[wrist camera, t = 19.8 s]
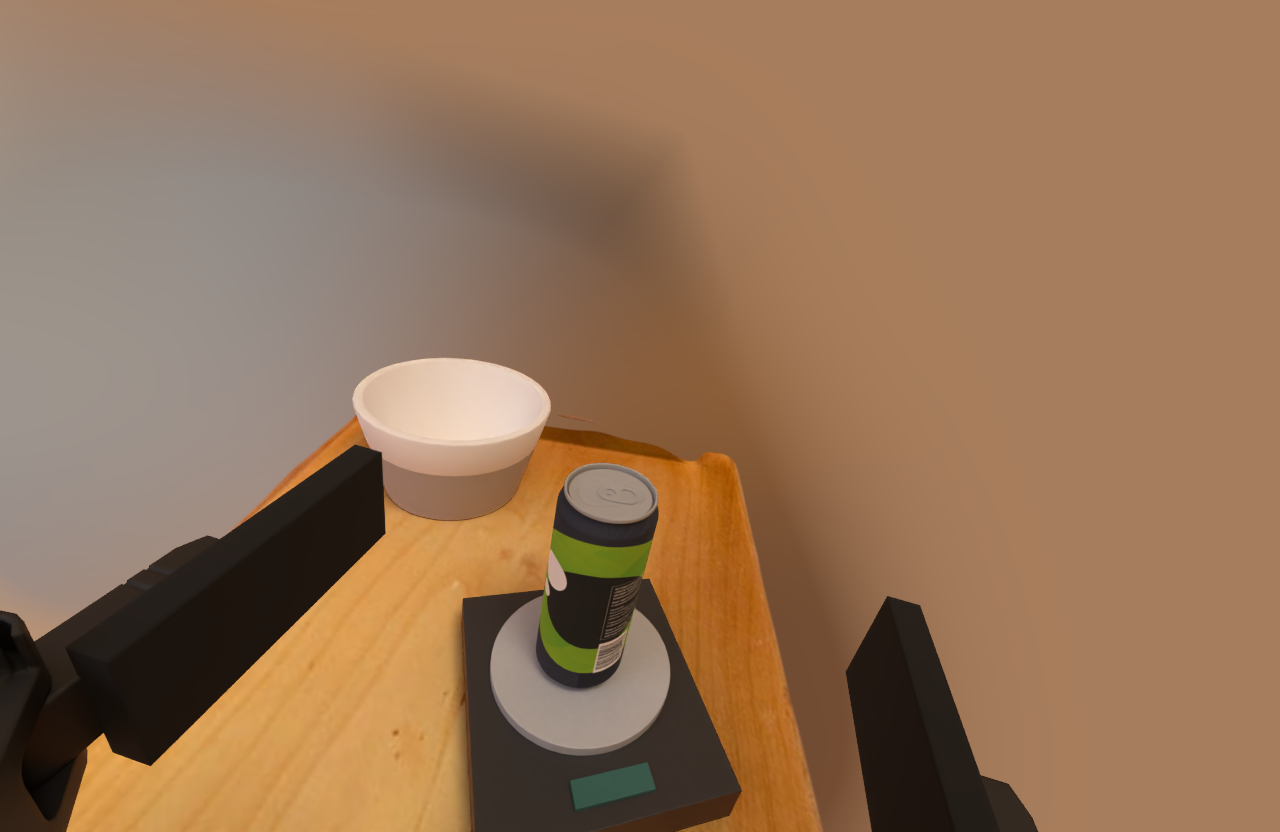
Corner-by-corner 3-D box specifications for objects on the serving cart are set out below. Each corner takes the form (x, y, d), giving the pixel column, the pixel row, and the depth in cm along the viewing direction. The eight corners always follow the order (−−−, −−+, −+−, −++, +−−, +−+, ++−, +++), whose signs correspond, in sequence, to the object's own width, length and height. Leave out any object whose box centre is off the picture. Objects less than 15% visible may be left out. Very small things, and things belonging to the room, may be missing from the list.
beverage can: (620, 625, 42) (659, 467, 35) (620, 699, 37) (666, 530, 30) (540, 616, 41) (564, 454, 34) (528, 691, 36) (554, 515, 29)
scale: (643, 602, 50) (651, 571, 48) (729, 815, 35) (745, 783, 33) (461, 624, 44) (463, 590, 42) (473, 891, 29) (477, 857, 27)
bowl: (507, 557, 51) (516, 464, 46) (315, 511, 52) (304, 414, 47) (559, 456, 68) (570, 380, 63) (415, 422, 69) (414, 344, 64)
